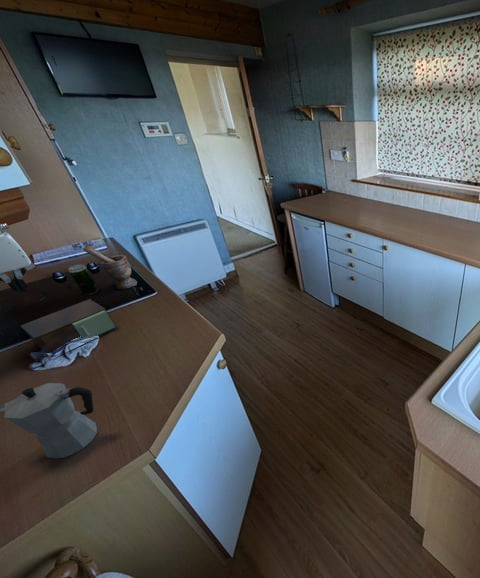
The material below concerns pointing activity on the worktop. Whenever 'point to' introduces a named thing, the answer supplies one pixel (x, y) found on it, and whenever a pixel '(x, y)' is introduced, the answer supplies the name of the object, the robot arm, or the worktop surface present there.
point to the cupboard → (61, 325)
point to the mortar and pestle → (115, 268)
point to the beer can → (83, 279)
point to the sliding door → (94, 325)
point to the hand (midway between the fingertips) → (22, 291)
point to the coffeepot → (54, 418)
